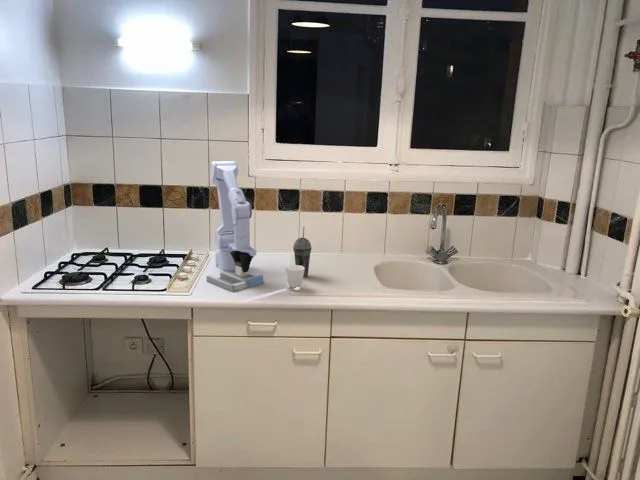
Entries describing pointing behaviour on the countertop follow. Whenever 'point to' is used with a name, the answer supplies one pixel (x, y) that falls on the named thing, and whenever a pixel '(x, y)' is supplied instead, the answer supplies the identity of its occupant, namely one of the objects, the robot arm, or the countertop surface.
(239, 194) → the robot arm
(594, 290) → the countertop surface
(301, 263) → the beverage cup
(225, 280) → the grey tray
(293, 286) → the cup
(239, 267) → the grey rectangular block
